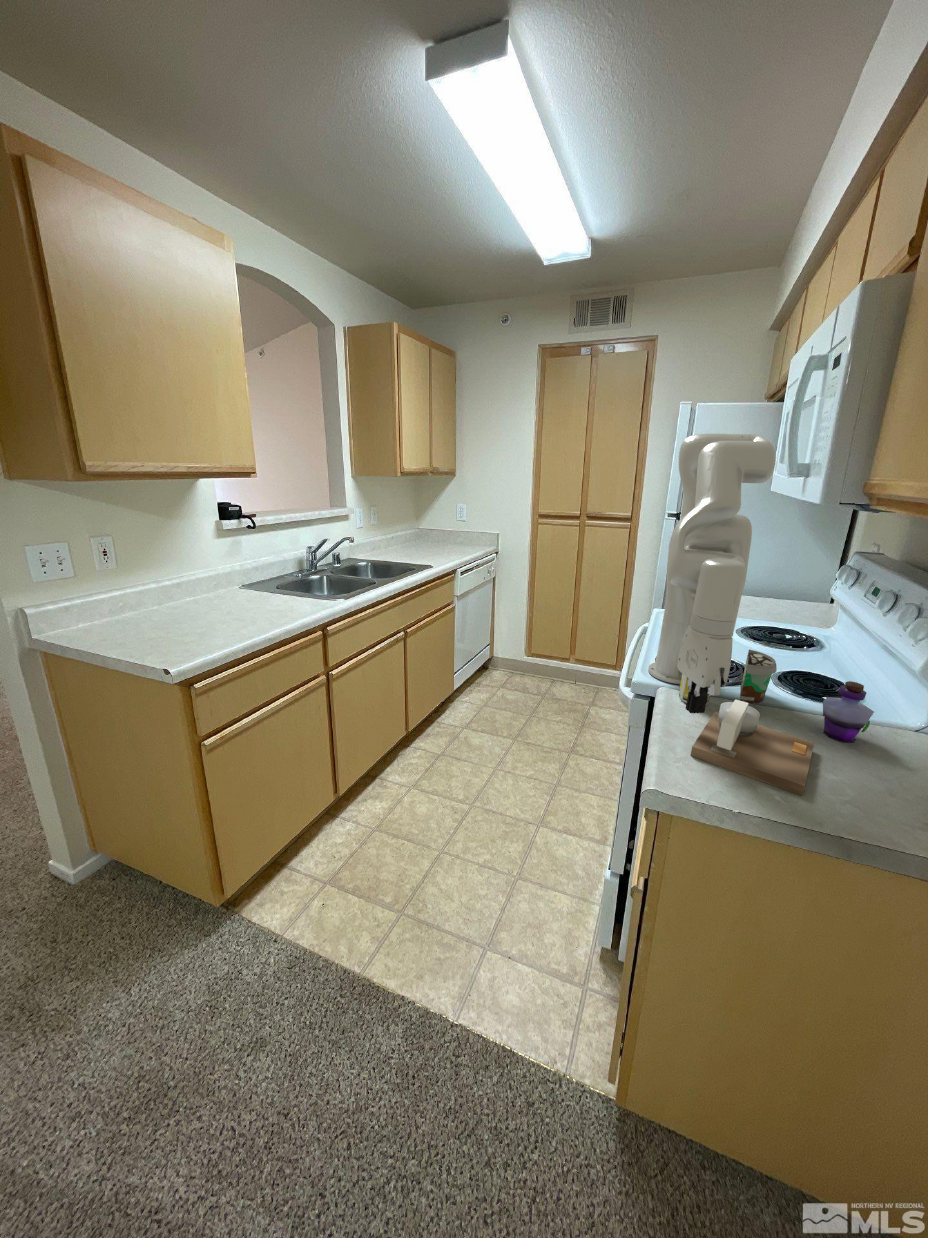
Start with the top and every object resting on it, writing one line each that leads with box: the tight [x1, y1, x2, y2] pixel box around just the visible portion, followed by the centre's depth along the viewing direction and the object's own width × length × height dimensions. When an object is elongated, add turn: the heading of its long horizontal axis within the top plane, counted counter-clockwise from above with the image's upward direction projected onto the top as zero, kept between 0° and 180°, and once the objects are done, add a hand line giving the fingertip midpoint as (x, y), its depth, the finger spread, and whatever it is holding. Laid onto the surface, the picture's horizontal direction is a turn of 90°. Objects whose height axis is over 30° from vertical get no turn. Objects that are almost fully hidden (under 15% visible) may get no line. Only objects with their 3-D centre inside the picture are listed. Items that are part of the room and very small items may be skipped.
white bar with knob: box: [717, 699, 761, 750], centre depth 95 cm, size 16×7×5 cm, turn 141°
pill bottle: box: [678, 674, 710, 705], centre depth 114 cm, size 6×6×12 cm
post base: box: [690, 711, 815, 797], centre depth 94 cm, size 18×18×3 cm
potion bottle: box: [822, 680, 875, 744], centre depth 100 cm, size 9×9×12 cm
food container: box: [738, 649, 778, 704], centre depth 116 cm, size 12×6×10 cm, turn 150°
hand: (694, 711), depth 98 cm, fingers closed
